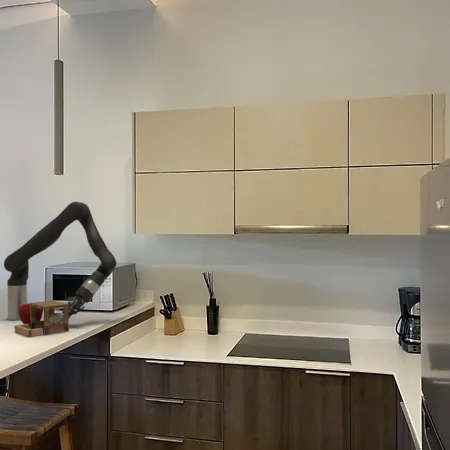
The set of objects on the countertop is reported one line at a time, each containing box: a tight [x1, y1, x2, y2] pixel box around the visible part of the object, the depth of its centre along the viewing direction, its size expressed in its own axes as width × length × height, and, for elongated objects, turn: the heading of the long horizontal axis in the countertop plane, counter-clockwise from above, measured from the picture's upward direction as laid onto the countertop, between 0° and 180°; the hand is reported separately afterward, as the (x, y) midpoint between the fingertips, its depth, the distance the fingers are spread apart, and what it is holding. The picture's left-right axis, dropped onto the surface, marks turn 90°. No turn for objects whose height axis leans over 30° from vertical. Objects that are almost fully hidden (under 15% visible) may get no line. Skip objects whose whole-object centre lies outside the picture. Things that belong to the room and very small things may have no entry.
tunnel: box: [29, 299, 70, 336], centre depth 230 cm, size 16×11×12 cm
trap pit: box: [14, 323, 44, 338], centre depth 224 cm, size 15×6×3 cm, turn 44°
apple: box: [19, 302, 44, 328], centre depth 241 cm, size 11×11×12 cm
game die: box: [49, 311, 63, 326], centre depth 232 cm, size 9×8×10 cm
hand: (64, 319), depth 235 cm, fingers closed
